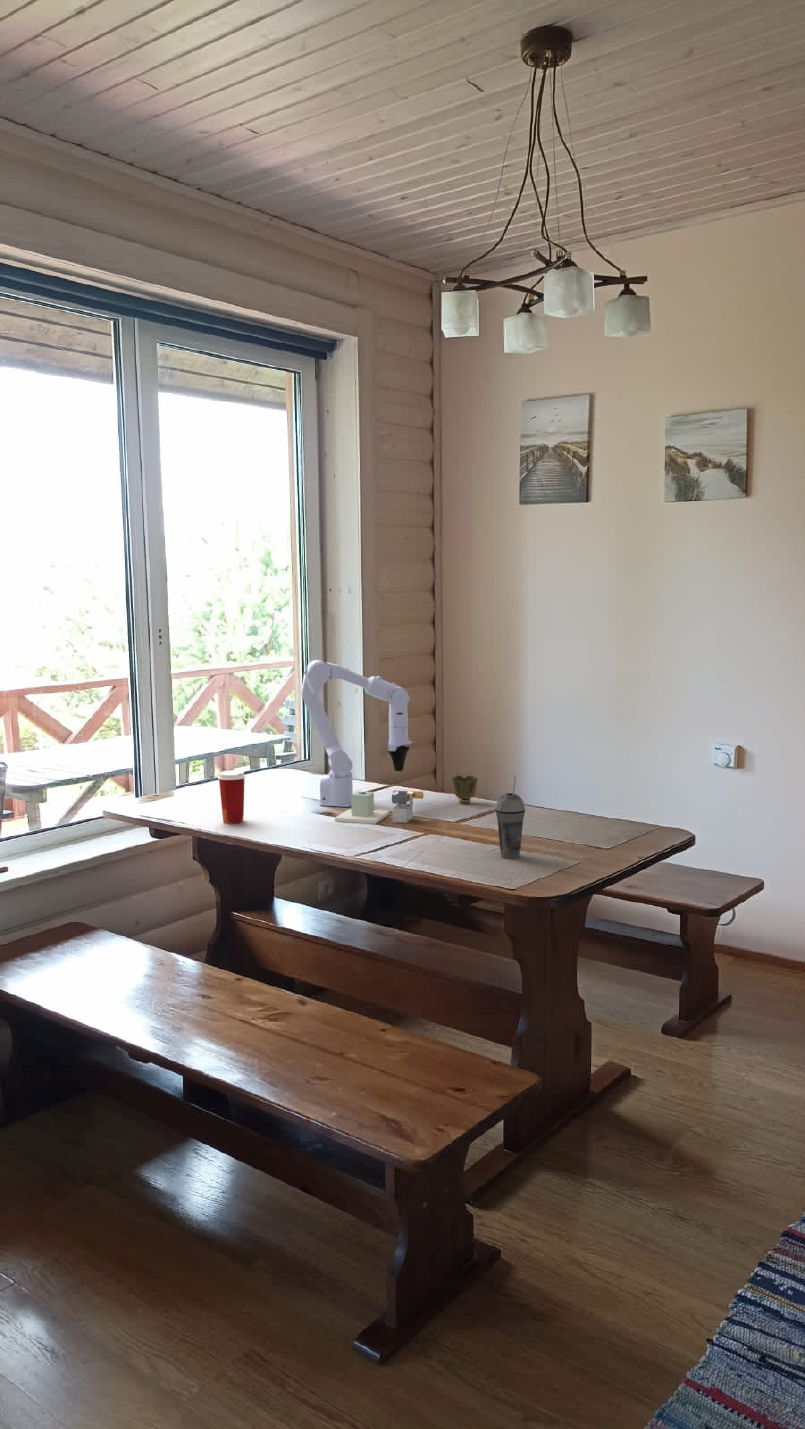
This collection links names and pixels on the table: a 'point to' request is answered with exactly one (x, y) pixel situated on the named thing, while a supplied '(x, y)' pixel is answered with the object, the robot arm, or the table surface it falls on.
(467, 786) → the cup
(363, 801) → the block
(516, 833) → the beverage cup
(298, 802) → the table surface
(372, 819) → the plate
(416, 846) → the table surface
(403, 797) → the press lever
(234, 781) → the paper cup
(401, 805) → the white square planter
